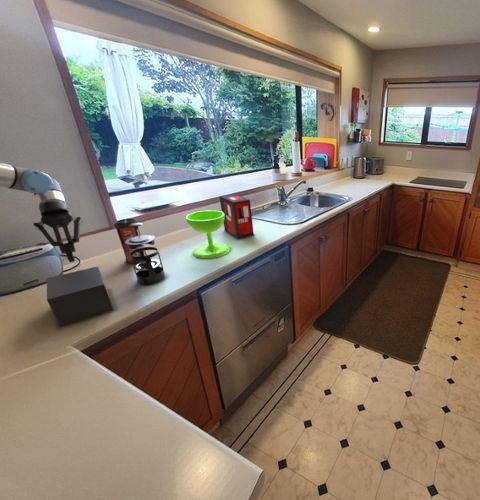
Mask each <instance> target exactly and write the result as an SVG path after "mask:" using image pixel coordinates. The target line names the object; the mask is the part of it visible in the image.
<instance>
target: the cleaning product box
mask: <svg viewBox="0 0 480 500" xmlns="http://www.w3.org/2000/svg"><path fill="white" fill-rule="evenodd" d="M218 197H219V204H220V211H221V212H223V213H224V214H225V219H224V222H223V228H224V232H226V233H228V234H229V235H231V236H232V237H234V238H236V239H238V240H240V239H244V238H249V237H251V236H254V235H255V234H254V223H253V215H252V207H251V199H250V198H247V197H245V196H241V195H239V194H236V193H231V194H225V195H224V194H223V195H219V196H218Z"/></svg>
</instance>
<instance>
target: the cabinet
mask: <svg viewBox="0 0 480 500" xmlns="http://www.w3.org/2000/svg"><path fill="white" fill-rule="evenodd" d="M46 301H47V303H48V305H49V307H50V309H51V312H52V313H53V315H54V317H55V320H56V321H57V324H58V325H59V327H63V326H67V325H70V324H73V323H76V322H79V321H83V320H85V319H88V318H92V317H94V316H98V315H102V314H105V313H107V312H111V311H113V310H115V309H114V306H113V303H112V299H111V297H110V293H109V290H108V288H107V286H106V283H105V280H104V278H103V274H102V272H101V270H100V267H99V266H94V267H93V266H92V267H89V268H85V269H81V270H76V271H72V272H68V273H63V274H60V275H55V276H50V277H47V278H46Z"/></svg>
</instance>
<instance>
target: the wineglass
mask: <svg viewBox="0 0 480 500" xmlns="http://www.w3.org/2000/svg"><path fill="white" fill-rule="evenodd" d="M224 219H225V214H224V213H223V212H222V210H215V209H214V210H213V209H209V210H198V211H194V212H191V213H188V214H187V215H186V216H185V220H186V223H187V224H188V225H189V226H190V228H191V229H193V230H194V231H195V232H199V233H202V234H203V233H204V234H206V237H207V244H203V245H200V246H198V247H197V248H195V249H194V251H193V256H194V257H196V258H199V259H215V258H219V257H222V256H224V255H227V254H228V253H229V252H230V250H231V248H230V246H229V245H228V244H225V243H221V242H214V241H213V237H212V233H213V232H216V231H218V230H219V229H220V228H221V227H222V226H223V225H224Z"/></svg>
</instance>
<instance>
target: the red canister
mask: <svg viewBox="0 0 480 500" xmlns="http://www.w3.org/2000/svg"><path fill="white" fill-rule="evenodd" d="M133 223H138V221H137V220H135V219H134V218H124V219H119V220H117V221H116V222H115V223H114V227H115V229H116V233H117V235H118V238H119V241H120V244H121V247H122V250H123V253H124V256H125V261H126V262H127V263H131V264H132V261H133V264H138V263H140V262H142V260H133V259H132V261H131V258H130V255H129V253H130V252H131V251H133V250H136V249H138V247H142V246H141V245H139V246H138V247H136V248H135V249H130V248H129V247H128V245H127V244H126V243H125V242H126V240H128V239H130V238H132V237H136V236H138V232H137V229H135V227H129V225H130V224H133ZM138 231H139V235H140V236H142V234H141V232H140V228H139V229H138ZM142 245H143V247H145V244H142ZM145 252H146V255H148V254H147V250H145ZM132 256H135V257H139V256H140V253H139V252H137V253H135V254H133V255H132Z"/></svg>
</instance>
